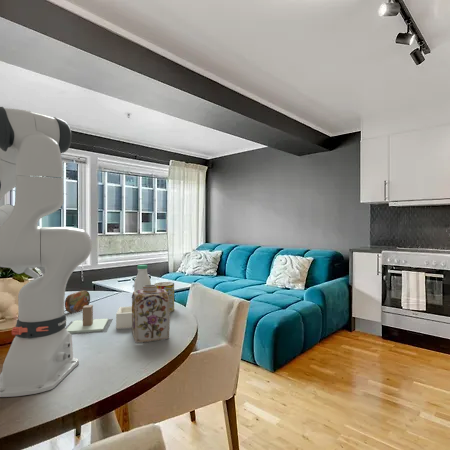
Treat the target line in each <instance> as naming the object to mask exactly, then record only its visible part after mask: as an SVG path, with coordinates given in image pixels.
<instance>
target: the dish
mask: <svg viewBox="0 0 450 450" xmlns="http://www.w3.org/2000/svg"><path fill="white" fill-rule="evenodd" d="M115 321H116V323H115V324H116V325H115V328H116V330H121V329H132V305H130V306H119V308H118V309H117V311H116V313H115Z"/></svg>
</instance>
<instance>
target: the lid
mask: <svg viewBox="0 0 450 450" xmlns="http://www.w3.org/2000/svg"><path fill="white" fill-rule="evenodd" d="M93 307H94V305H93V304H89V305H85V306H84V307H83V310H82V319H79V320H78V319H76V320H75V319H74V320H73V321H71V322H72V324H71V325H70V326H69V327H68V328H67V329H66V330H67V331H68V332H69V333H81V332H96V331H103V330H104V328H105V326H106V324H107V322H108V319H109V318H94V313H93V312H94V308H93Z"/></svg>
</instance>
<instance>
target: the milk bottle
mask: <svg viewBox="0 0 450 450" xmlns="http://www.w3.org/2000/svg"><path fill="white" fill-rule="evenodd" d="M136 267H137V275H136V276H135V277H136V278H135V279H134V285H133V290H134V291H136V290H140V289H143V286H144V285H152V283H151V279H150V276H149V274H148V264H138V265H137V266H136ZM134 291H133V292H134Z"/></svg>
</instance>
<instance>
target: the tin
mask: <svg viewBox="0 0 450 450" xmlns="http://www.w3.org/2000/svg"><path fill="white" fill-rule="evenodd" d="M90 301H91V295H90V292H89V291H88V290H80V291H76V292H73V293H71V294H69V295H67V296H66V297H65V299H64V310H66V312H67V313H71V314H72V313H73V314H75V313H78V312H81V311H83V307H84V306H85V305H90Z"/></svg>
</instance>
